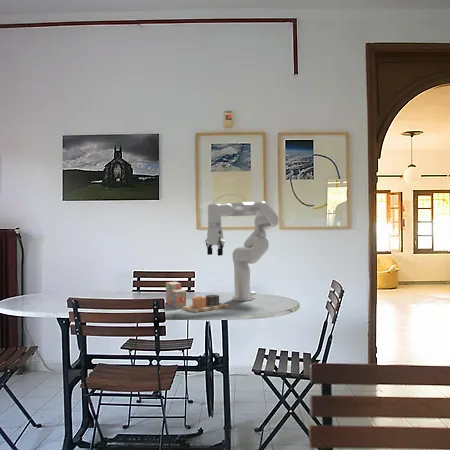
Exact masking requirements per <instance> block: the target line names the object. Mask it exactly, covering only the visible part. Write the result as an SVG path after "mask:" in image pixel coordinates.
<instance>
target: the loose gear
mask: <svg viewBox="0 0 450 450" xmlns="http://www.w3.org/2000/svg"><path fill="white" fill-rule="evenodd" d="M191 302H192V304H191V305H193V307H194V308H195V307H196V308H201V307H202V308H203V307H206V296H201V295H199V296H194V297H193V296H192V301H191Z"/></svg>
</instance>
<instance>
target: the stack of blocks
mask: <svg viewBox="0 0 450 450" xmlns="http://www.w3.org/2000/svg"><path fill="white" fill-rule="evenodd" d="M165 292H166V293H165V294H166V297H165V299H166V301H165V302H166V303H167V304H168V305H169V306H171V305H172V307H173V308H175V309H179V308H180V309H181V308H182V309H183V306H187V291H186V290H185V289H183V288H182V283H180V282H178V281H169V282H168V281H167V282H166V281H165Z"/></svg>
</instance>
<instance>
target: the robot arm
mask: <svg viewBox="0 0 450 450" xmlns="http://www.w3.org/2000/svg"><path fill="white" fill-rule="evenodd" d="M250 216H252V217H253V216H255V218H254V230H253V232H252V233H251V234H250V235H249V236H248V237H247V239H246V240H245V241H244V244H243V247H242V246H241V247H236V248H235V249H234V250H233V251H232V261H233V267H234V270H233V271H234V272H233V273H234V275H233V276H234V278H233V279H234V281H233V282H234V283H233V284H234V295H233V296H232V298H231V299H232V301H238V302H239V301H241V302H243V301H246V302H247V301H252V300H253V299H254V297H253V296H255V295H257V292H256V291H251V269H250V266H249V264H252V265H253V264H256V263H258V262H259V261H260V259H261V258H263V256H264V255H265V254H266V252H267V251H268V250H269V246H270V245H269V240H268V238H267V231H266V228H274V227H275V228H276V226H278V225H279V223H280V219H279V216H278V215H277V213H276V212H275V210H274V209H273V208H272V207H271V206H270V204H269V203H267V202H266V201H242V202H241V201H240V202H239V201H238V202H233V203H232V202H231V203H209V204H208V206H207V233H206V239H205V240H204V242H205V246H206V248H207V252H206V253H207V255H208V256H209V255H210V256H211V255H213V246H217V256H219V257H220V256H223V253H224V251H223V249H224V246H225V242H226V241H225V240H224V232H223V228H222V217H250Z"/></svg>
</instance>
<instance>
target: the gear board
mask: <svg viewBox="0 0 450 450" xmlns="http://www.w3.org/2000/svg"><path fill="white" fill-rule="evenodd" d="M205 297H206V307H203V308H202V307H201V308H196V307H195V308H194V307H193V305H192V304H190V305H186V306H183V308H182V310H184V311H187V312H188V311H189V312H192V313H203V312H202V311H204V312H209V310H210V311H215V310H222V309H228V308H230V304H227V303H223V302H220V295H218V294H207V295H205Z"/></svg>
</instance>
